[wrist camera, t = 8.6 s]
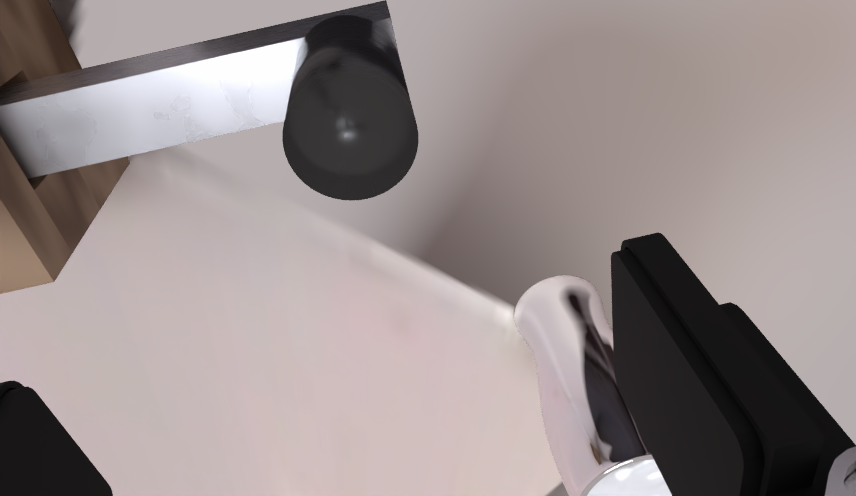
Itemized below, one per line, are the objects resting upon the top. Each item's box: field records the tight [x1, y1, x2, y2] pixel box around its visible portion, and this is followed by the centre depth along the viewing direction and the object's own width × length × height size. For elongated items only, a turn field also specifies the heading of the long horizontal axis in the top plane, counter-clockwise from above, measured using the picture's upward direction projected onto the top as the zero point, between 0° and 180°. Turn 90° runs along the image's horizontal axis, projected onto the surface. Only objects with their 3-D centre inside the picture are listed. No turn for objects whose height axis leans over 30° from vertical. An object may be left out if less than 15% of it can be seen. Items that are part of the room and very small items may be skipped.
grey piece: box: [0, 0, 418, 200], centre depth 23 cm, size 4×19×10 cm, turn 101°
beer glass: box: [514, 275, 672, 496], centre depth 38 cm, size 7×7×15 cm
